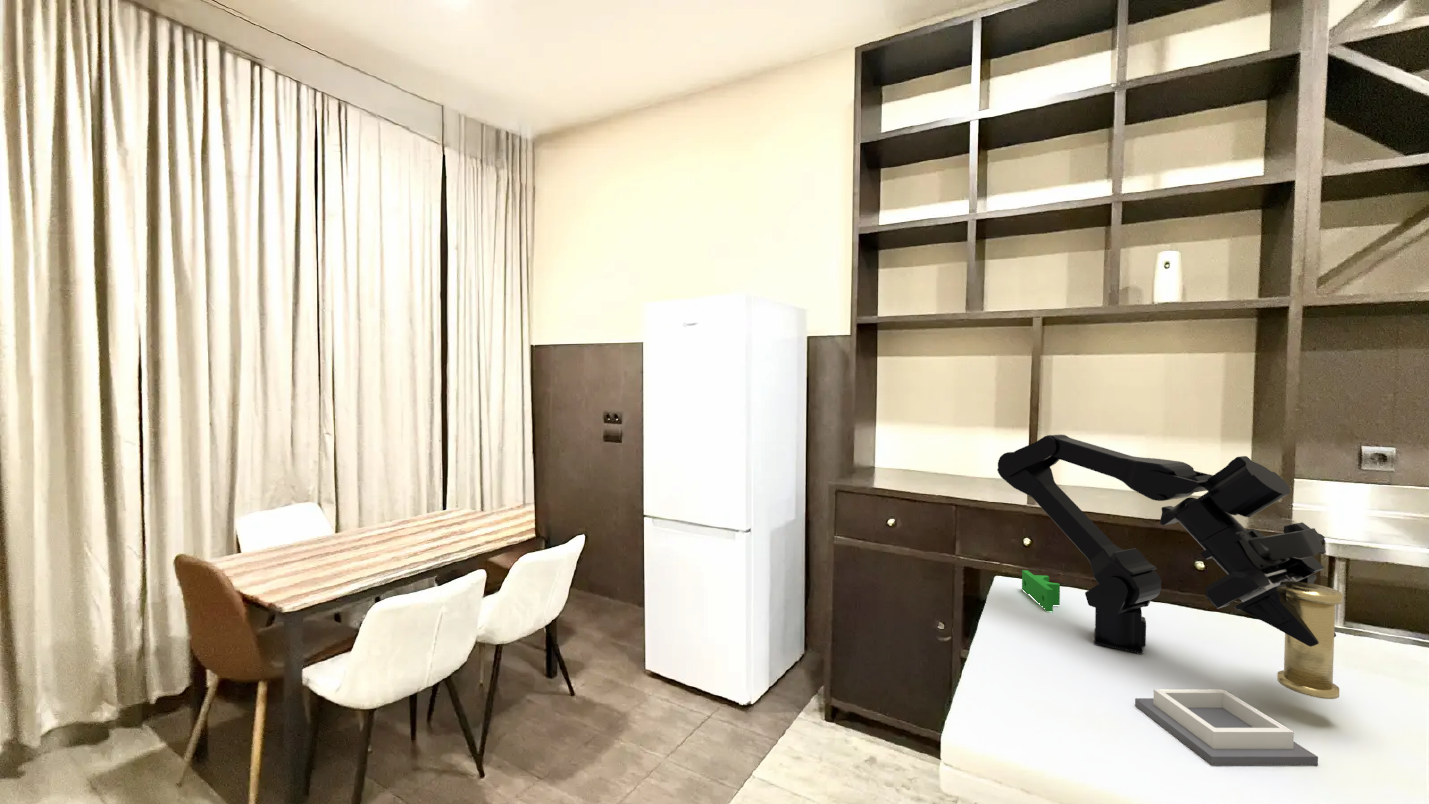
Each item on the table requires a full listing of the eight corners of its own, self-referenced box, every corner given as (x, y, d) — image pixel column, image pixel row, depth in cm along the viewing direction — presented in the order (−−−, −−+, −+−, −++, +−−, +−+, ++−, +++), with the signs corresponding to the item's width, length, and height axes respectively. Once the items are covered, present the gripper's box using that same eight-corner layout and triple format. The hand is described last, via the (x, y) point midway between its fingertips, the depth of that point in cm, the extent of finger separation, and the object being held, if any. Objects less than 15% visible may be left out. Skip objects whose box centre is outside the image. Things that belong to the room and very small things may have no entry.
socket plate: (1211, 765, 65) (1212, 739, 65) (1135, 705, 77) (1135, 683, 77) (1317, 765, 65) (1318, 739, 65) (1224, 705, 77) (1225, 683, 77)
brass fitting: (1282, 690, 73) (1285, 590, 73) (1272, 671, 78) (1275, 578, 78) (1346, 704, 70) (1349, 600, 70) (1331, 684, 75) (1334, 586, 74)
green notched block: (1067, 613, 108) (1067, 590, 108) (1046, 613, 108) (1046, 589, 108) (1040, 591, 119) (1040, 570, 119) (1021, 591, 120) (1022, 569, 119)
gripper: (1236, 510, 73) (1357, 628, 63) (1306, 497, 81) (1423, 601, 71) (1165, 554, 80) (1264, 666, 71) (1235, 538, 88) (1332, 637, 78)
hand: (1323, 641), depth 73 cm, fingers closed on brass fitting, 4 cm apart
